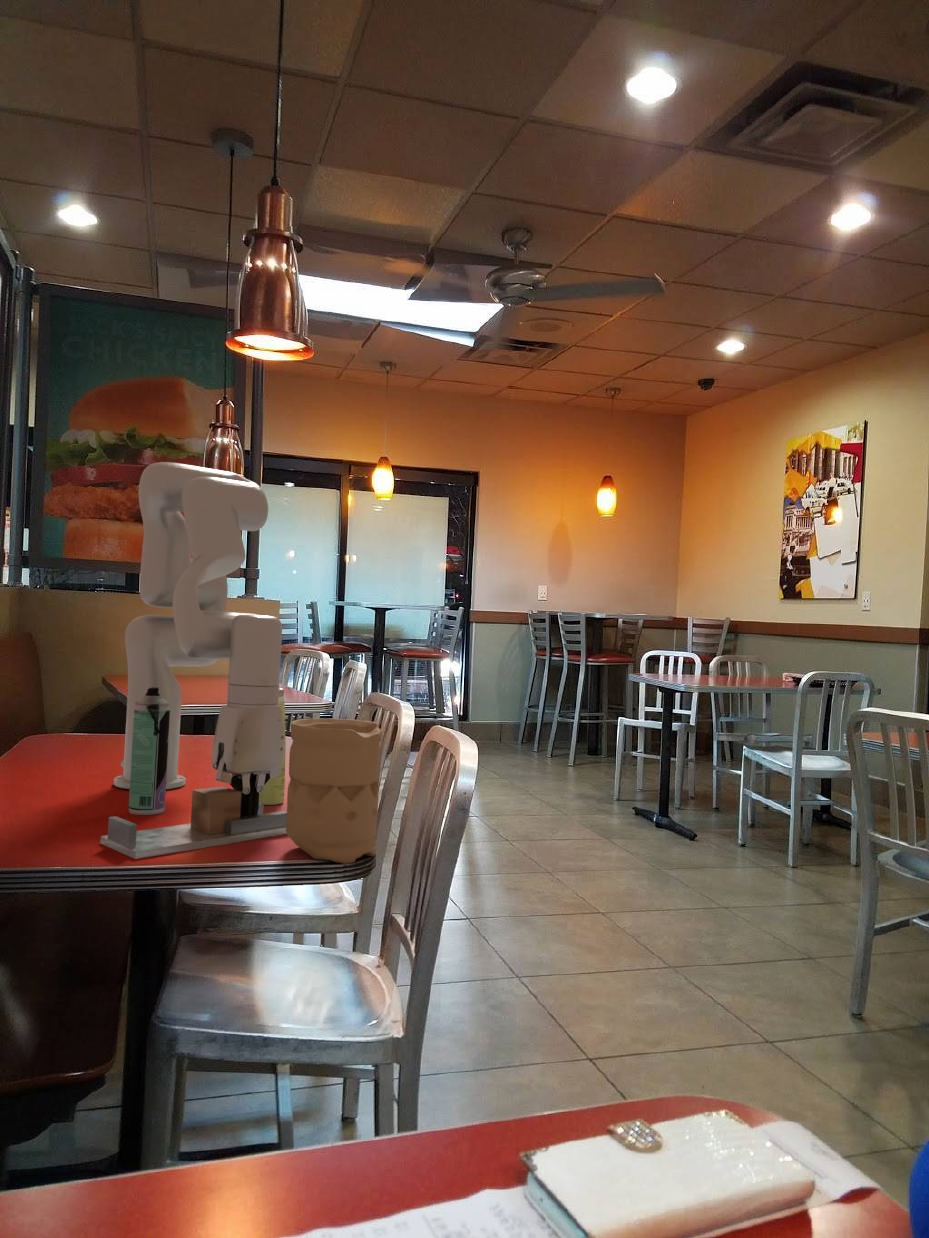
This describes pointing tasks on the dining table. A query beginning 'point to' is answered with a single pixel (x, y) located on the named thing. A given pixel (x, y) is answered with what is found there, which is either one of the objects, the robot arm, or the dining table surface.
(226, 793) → the block
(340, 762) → the container
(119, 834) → the chute
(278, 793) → the tube
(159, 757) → the spray can
